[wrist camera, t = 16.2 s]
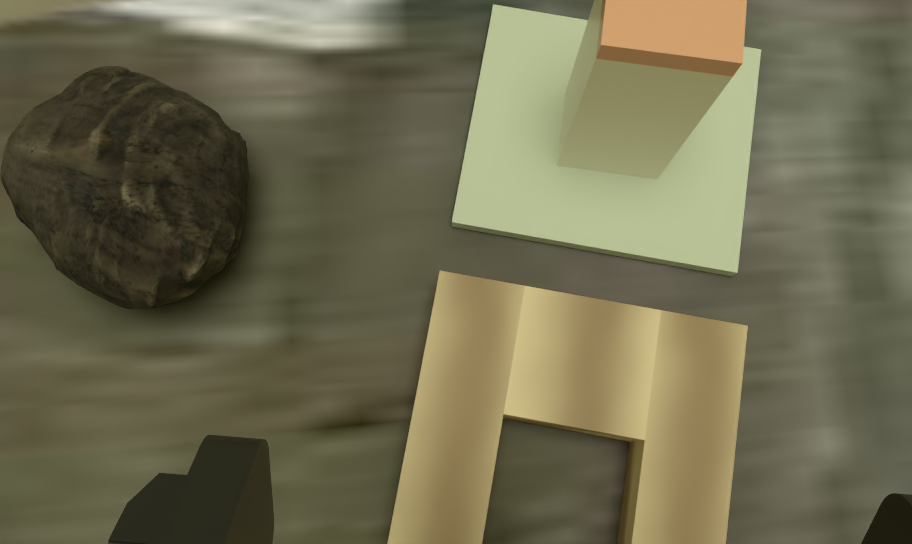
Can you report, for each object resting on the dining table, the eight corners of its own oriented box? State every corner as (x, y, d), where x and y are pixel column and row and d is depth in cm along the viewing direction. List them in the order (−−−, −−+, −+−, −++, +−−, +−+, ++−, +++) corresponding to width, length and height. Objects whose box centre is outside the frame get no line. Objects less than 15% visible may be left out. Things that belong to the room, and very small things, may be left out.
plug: (556, 165, 40) (600, 44, 29) (565, 92, 41) (611, -55, 29) (657, 179, 40) (742, 63, 28) (663, 105, 41) (749, -38, 29)
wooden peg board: (365, 678, 36) (357, 698, 33) (440, 284, 40) (439, 270, 37) (682, 741, 35) (703, 766, 32) (725, 335, 39) (747, 325, 36)
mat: (451, 226, 40) (451, 222, 40) (492, 12, 43) (493, 4, 42) (731, 276, 40) (737, 272, 39) (755, 57, 43) (760, 49, 42)
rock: (86, 71, 41) (-4, -14, 31) (296, 153, 42) (272, 95, 32) (4, 256, 40) (-117, 229, 30) (221, 337, 41) (173, 336, 31)
